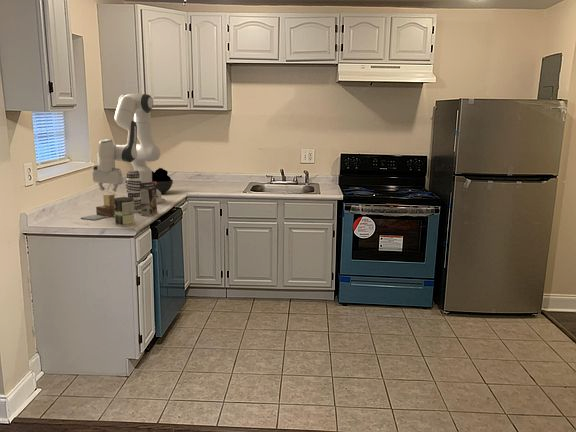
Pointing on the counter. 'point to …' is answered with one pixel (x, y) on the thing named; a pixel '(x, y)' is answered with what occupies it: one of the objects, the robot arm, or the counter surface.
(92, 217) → the rubber mat
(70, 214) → the counter surface
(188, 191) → the counter surface
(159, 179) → the coal bowl
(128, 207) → the coffee can
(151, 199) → the coffee box
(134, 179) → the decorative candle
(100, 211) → the socket block
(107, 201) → the wooden square peg
